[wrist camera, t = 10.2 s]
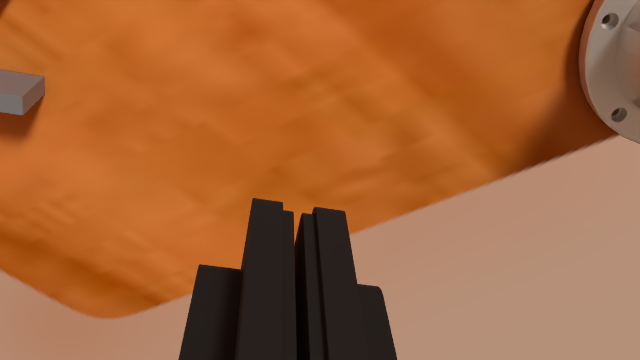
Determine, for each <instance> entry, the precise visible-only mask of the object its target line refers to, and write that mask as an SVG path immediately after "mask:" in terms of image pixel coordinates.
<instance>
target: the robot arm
mask: <svg viewBox="0 0 640 360" xmlns="http://www.w3.org/2000/svg"><path fill="white" fill-rule="evenodd" d="M605 16H606V18H605V20H604V21H602V20H603V18H604V17H605ZM578 66H579V74H580V82H581V86H582V88H583V91H584V94H585V97H586V99H587V102H588V103H589V105H590V106H591V108H592V109H593V111H594V112H595V114H596V115H597V116H598V117H599V118H600V119H601V120H602V121H603V122H604V123H605V124H607V125H608V126H609V127H610V128H611V129H613V130H614V131H616V132H617V133H618V134H620V135H621V136H623V137H625V138H627V139H629V140H632V141H634V142H637V143H639V144H640V0H595V1H594V3H593V6H592V8H591V10H590V12H589V14H588V17H587V19H586V22H585V25H584V29H583V33H582V37H581V40H580V48H579V61H578ZM179 360H397V356H396V352H395V347H394V343H393V338H392V334H391V329H390V325H389V320H388V316H387V311H386V307H385V302H384V298H383V294H382V291H381V289H380V288H379V287H377V286H369V285H361V284H357V280H356V273H355V267H354V261H353V255H352V250H351V244H350V237H349V231H348V226H347V220H346V214H345V211H341V210H334V209H327V208H320V207H314V209H313V212H312V214H306V213H302V215H301V218H300V222H299V227H298V232H297V236H296V241H295V246H294V213H293V212H292V211H284V210H283V202H277V201H270V200H263V199H256V198H253V200H252V205H251V211H250V217H249V223H248V229H247V235H246V242H245V248H244V254H243V260H242V266H241V270H240V269H232V268H224V267H216V266H208V265H200V264H199V267H198V271H197V276H196V280H195V285H194V290H193V294H192V299H191V304H190V309H189V313H188V318H187V323H186V327H185V332H184V337H183V341H182V346H181V351H180V356H179Z"/></svg>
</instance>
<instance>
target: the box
mask: <svg viewBox="0 0 640 360" xmlns="http://www.w3.org/2000/svg"><path fill="white" fill-rule="evenodd" d="M44 94H45V86H44V77H43V76H37V75H31V74H25V73H19V72H12V71H6V70H0V112H3V113H10V114H16V115H24V114H25V113H26V112H27V111H28V110H29V109H30V108H31V107H32V106H33V105H34V104H35V103H36V102H37V101H38V100H39V99H40V98H41V97H42V96H43V95H44Z"/></svg>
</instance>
